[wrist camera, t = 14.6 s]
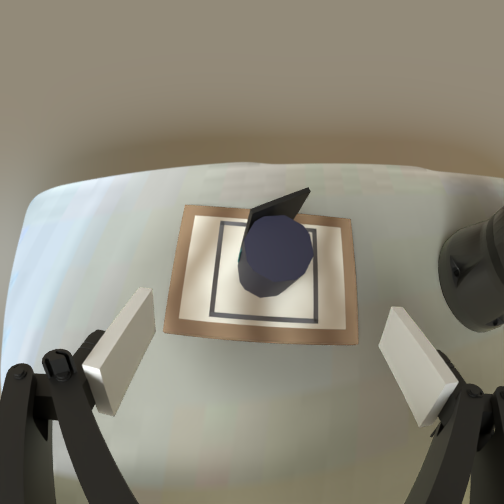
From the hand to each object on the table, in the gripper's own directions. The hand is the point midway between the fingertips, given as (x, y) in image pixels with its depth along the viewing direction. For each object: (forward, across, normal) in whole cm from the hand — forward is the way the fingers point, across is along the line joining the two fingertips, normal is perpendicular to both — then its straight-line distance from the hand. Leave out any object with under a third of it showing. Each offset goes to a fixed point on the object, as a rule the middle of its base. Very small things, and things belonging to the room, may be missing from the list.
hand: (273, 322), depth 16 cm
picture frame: (+17, 0, -4) cm, 17 cm away
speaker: (+16, +1, -4) cm, 16 cm away
